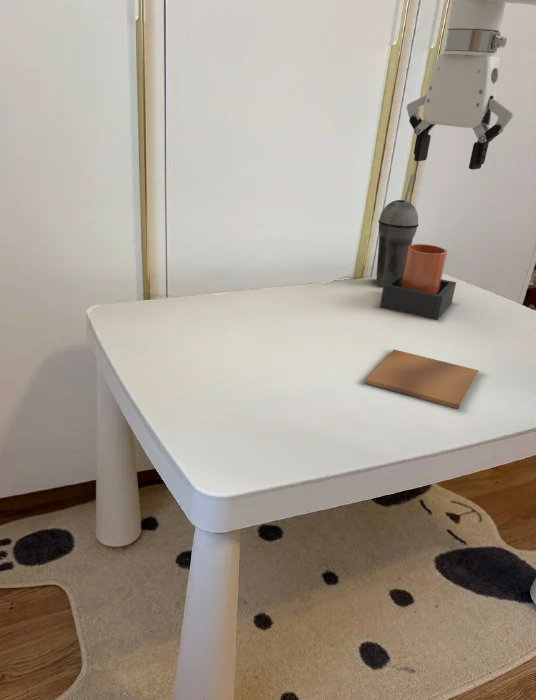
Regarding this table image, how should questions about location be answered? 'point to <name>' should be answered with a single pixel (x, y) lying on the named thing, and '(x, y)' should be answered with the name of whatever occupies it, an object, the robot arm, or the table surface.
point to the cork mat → (424, 378)
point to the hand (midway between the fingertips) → (446, 164)
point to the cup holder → (417, 298)
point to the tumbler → (423, 268)
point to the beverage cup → (395, 237)
